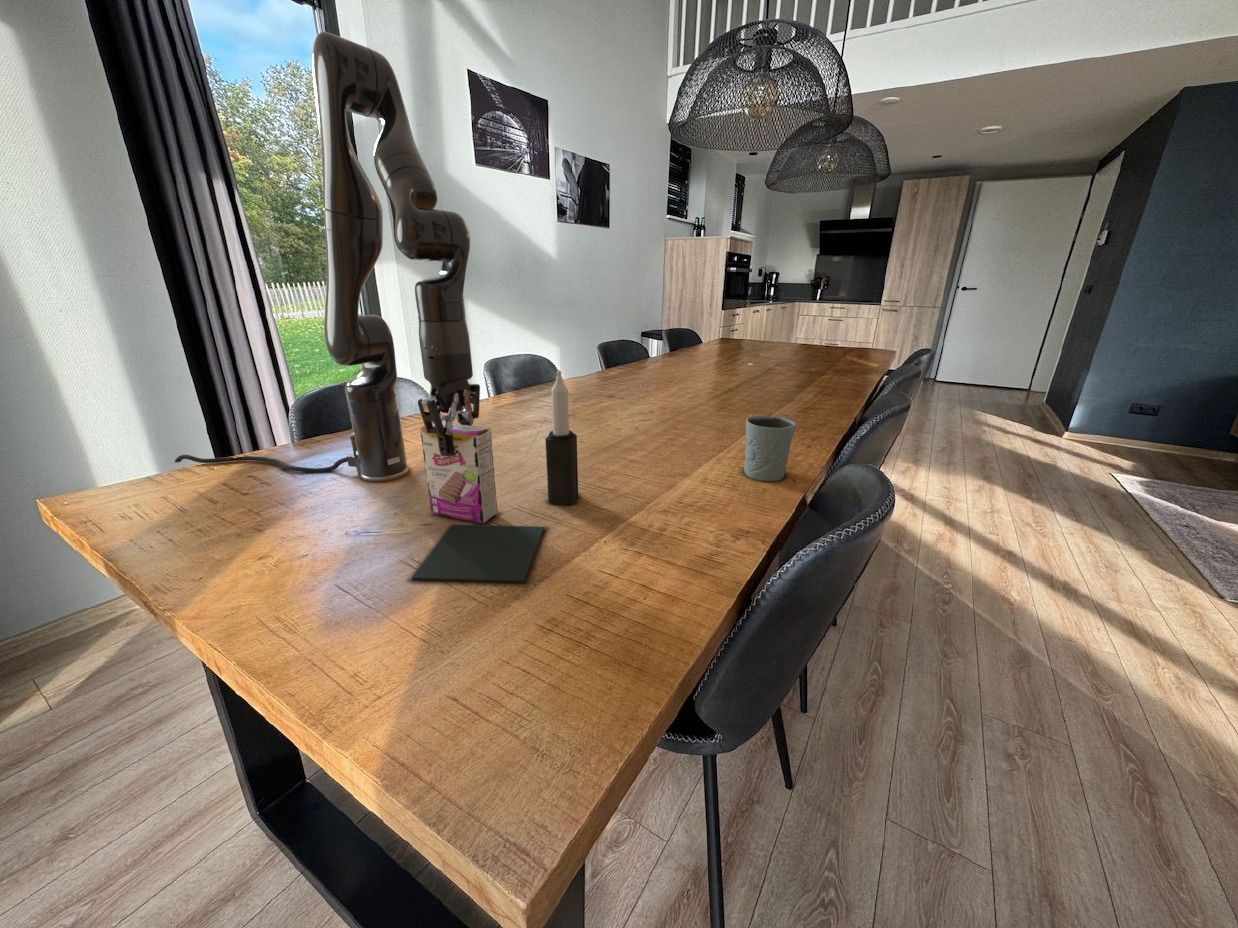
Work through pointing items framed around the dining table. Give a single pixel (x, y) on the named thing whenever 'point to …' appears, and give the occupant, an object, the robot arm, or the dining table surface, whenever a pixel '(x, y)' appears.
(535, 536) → the mat
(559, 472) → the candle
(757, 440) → the grey green embossed cup
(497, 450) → the dining table surface
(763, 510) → the dining table surface
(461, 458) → the candy bar box
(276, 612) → the dining table surface
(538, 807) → the dining table surface
